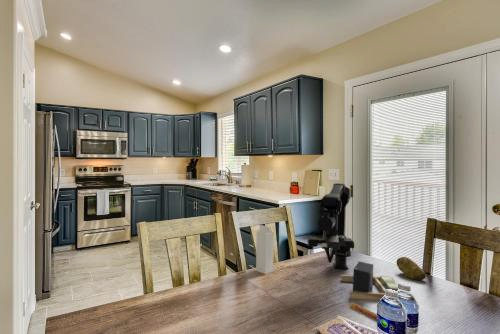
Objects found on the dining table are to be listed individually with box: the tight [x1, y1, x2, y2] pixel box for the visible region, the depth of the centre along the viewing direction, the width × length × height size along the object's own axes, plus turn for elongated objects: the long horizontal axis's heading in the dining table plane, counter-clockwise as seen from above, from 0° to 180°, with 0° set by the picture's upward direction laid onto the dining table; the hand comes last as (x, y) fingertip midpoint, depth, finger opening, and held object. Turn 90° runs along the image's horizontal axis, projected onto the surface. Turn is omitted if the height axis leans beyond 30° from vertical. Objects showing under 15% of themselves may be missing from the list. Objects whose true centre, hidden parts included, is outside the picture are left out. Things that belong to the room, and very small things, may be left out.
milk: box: [255, 224, 275, 275], centre depth 141 cm, size 6×6×22 cm
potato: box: [396, 256, 427, 281], centre depth 137 cm, size 8×13×8 cm, turn 8°
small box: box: [352, 261, 374, 293], centre depth 122 cm, size 11×6×10 cm, turn 148°
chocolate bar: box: [349, 301, 378, 322], centre depth 104 cm, size 3×12×2 cm, turn 34°
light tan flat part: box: [340, 274, 399, 301], centre depth 122 cm, size 17×22×4 cm
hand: (329, 262), depth 123 cm, fingers closed
